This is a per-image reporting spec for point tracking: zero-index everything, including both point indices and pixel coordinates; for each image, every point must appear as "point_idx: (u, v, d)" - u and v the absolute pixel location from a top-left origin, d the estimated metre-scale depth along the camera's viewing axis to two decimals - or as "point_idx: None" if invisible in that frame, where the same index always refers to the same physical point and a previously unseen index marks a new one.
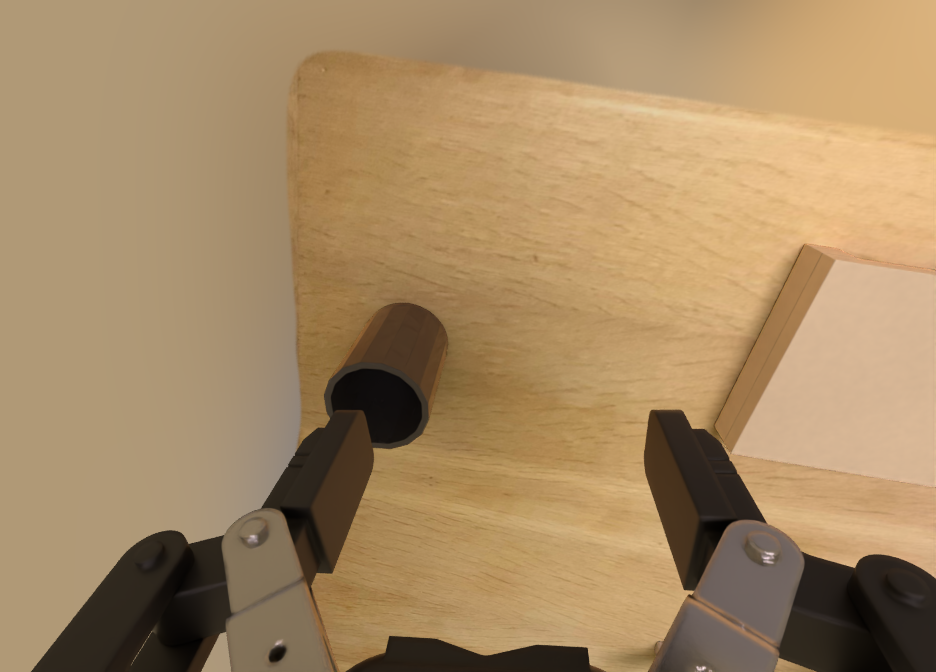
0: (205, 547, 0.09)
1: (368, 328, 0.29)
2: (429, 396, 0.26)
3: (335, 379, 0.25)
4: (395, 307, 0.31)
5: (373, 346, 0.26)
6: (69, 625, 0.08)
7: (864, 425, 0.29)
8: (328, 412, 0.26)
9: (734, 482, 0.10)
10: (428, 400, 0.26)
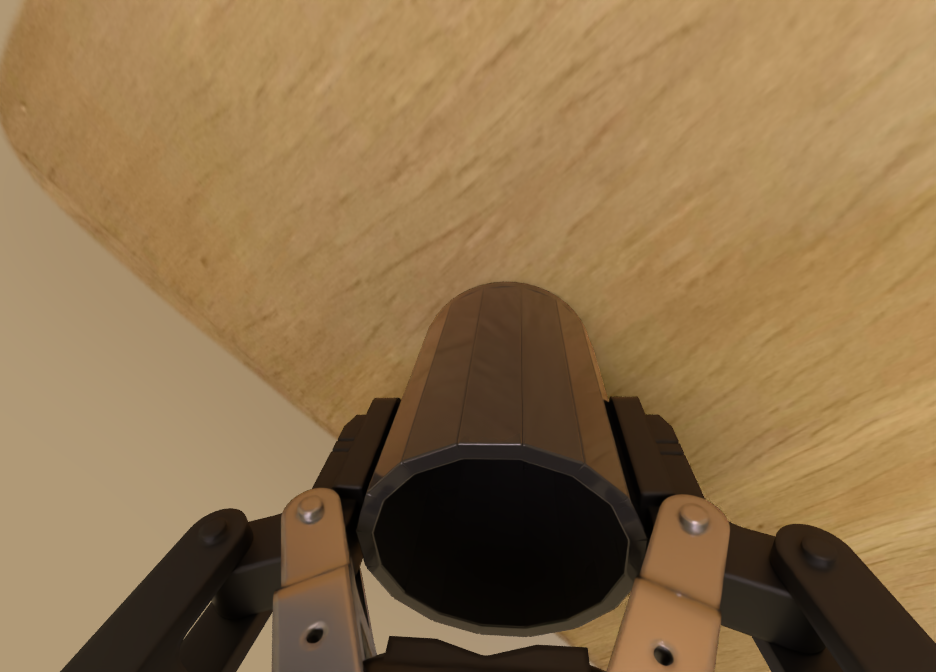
0: (263, 525, 0.10)
1: None
2: (579, 442, 0.09)
3: (371, 558, 0.10)
4: (431, 326, 0.15)
5: (393, 430, 0.11)
6: (138, 587, 0.08)
7: None
8: (433, 618, 0.11)
9: (680, 462, 0.10)
10: (582, 455, 0.08)
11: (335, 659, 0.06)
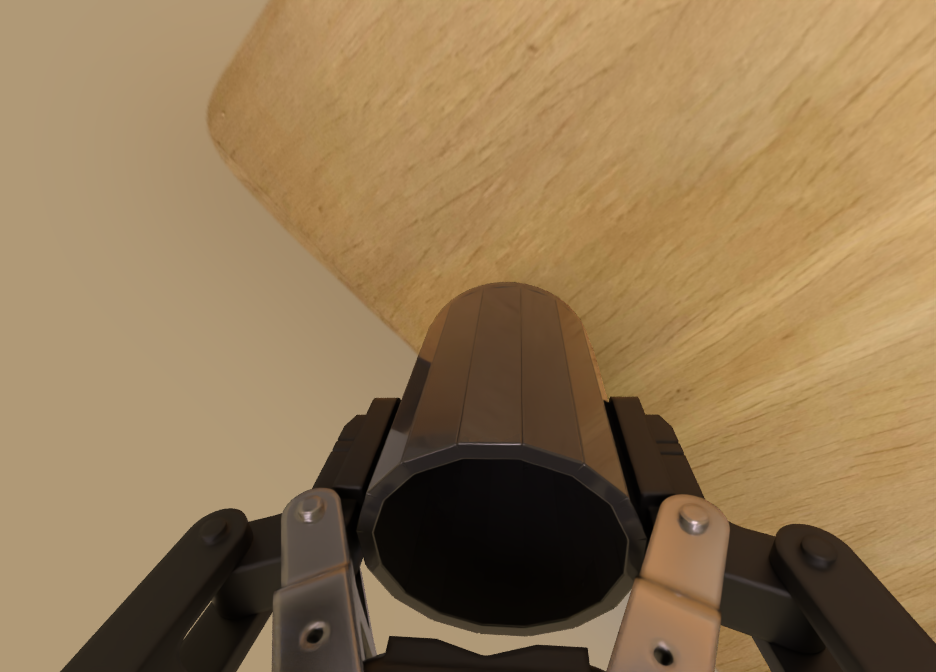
0: (262, 525, 0.10)
1: None
2: (579, 442, 0.09)
3: (371, 557, 0.10)
4: (431, 326, 0.15)
5: (393, 430, 0.11)
6: (138, 587, 0.08)
7: None
8: (433, 618, 0.11)
9: (679, 462, 0.10)
10: (582, 455, 0.08)
11: (335, 660, 0.06)
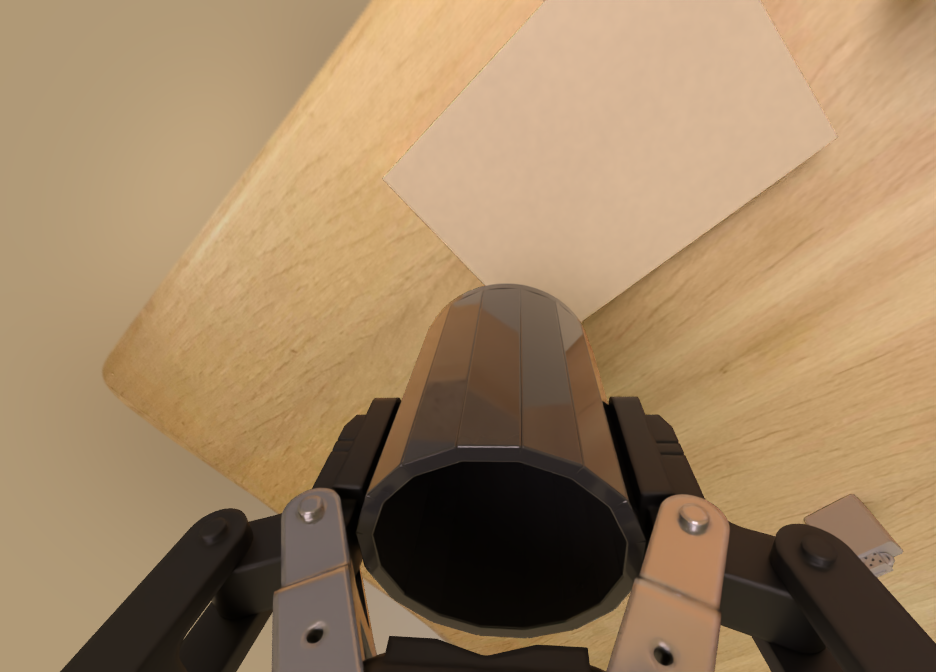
0: (262, 525, 0.10)
1: None
2: (578, 444, 0.09)
3: (371, 559, 0.10)
4: (431, 327, 0.15)
5: (392, 432, 0.11)
6: (138, 587, 0.08)
7: (597, 229, 0.25)
8: (432, 620, 0.11)
9: (680, 462, 0.10)
10: (581, 458, 0.08)
11: (335, 659, 0.06)
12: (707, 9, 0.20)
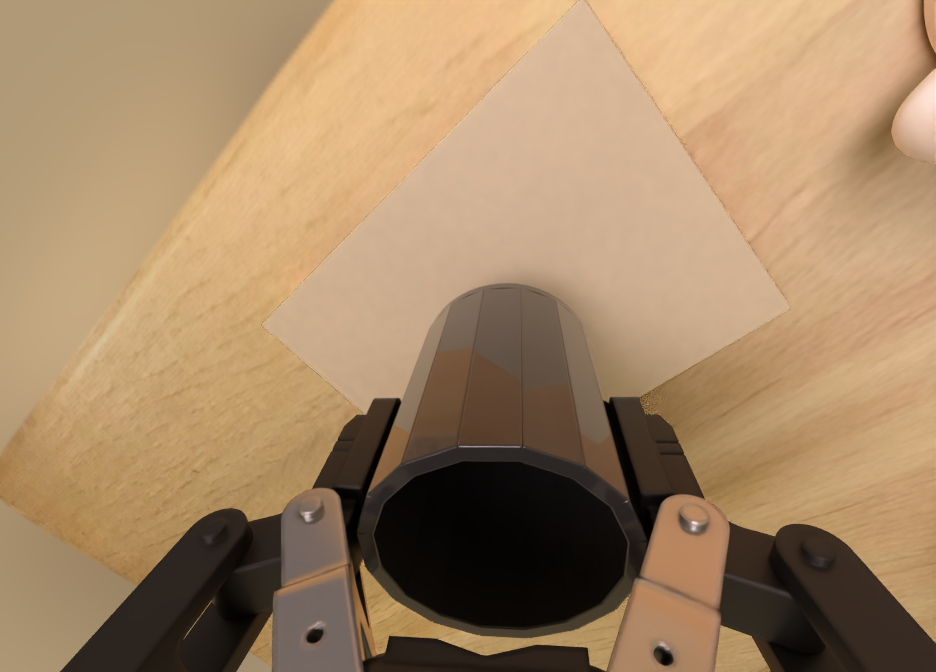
0: (262, 525, 0.10)
1: None
2: (579, 444, 0.09)
3: (371, 559, 0.10)
4: (432, 327, 0.15)
5: (393, 431, 0.11)
6: (138, 587, 0.08)
7: None
8: (433, 620, 0.11)
9: (679, 462, 0.10)
10: (582, 457, 0.08)
11: (335, 659, 0.06)
12: (629, 167, 0.16)
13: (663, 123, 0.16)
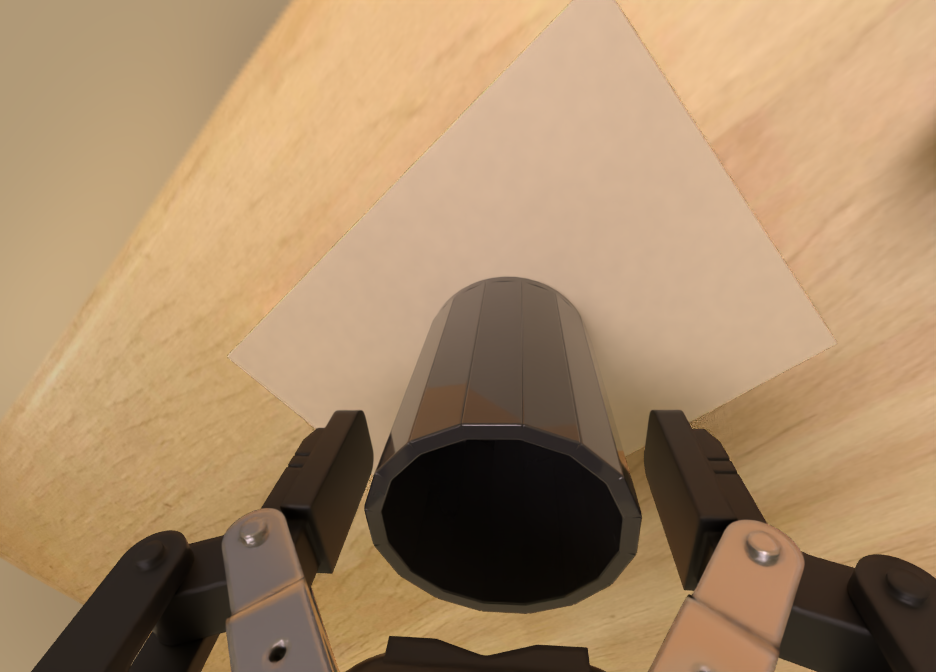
0: (205, 547, 0.09)
1: None
2: (576, 424, 0.09)
3: (379, 536, 0.11)
4: (435, 319, 0.16)
5: (399, 415, 0.11)
6: (69, 625, 0.08)
7: None
8: (437, 596, 0.11)
9: (734, 482, 0.10)
10: (579, 436, 0.09)
11: None
12: (650, 180, 0.14)
13: (693, 129, 0.13)
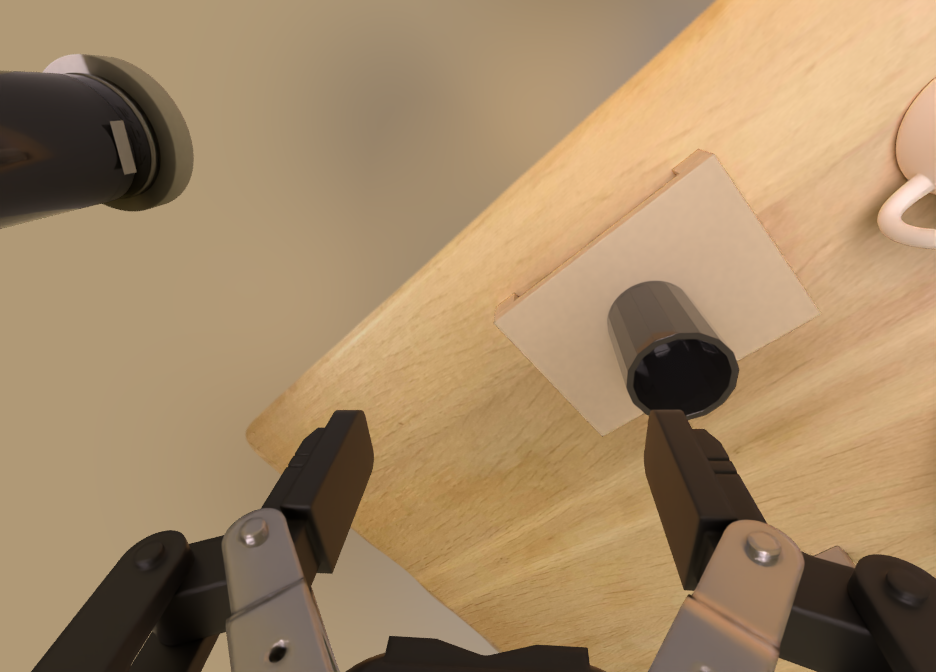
0: (206, 547, 0.09)
1: (615, 332, 0.30)
2: (716, 335, 0.25)
3: (630, 383, 0.27)
4: (618, 301, 0.32)
5: (634, 337, 0.27)
6: (69, 625, 0.08)
7: None
8: (647, 413, 0.28)
9: (734, 482, 0.10)
10: (718, 338, 0.25)
11: None
12: (731, 236, 0.30)
13: (752, 214, 0.29)
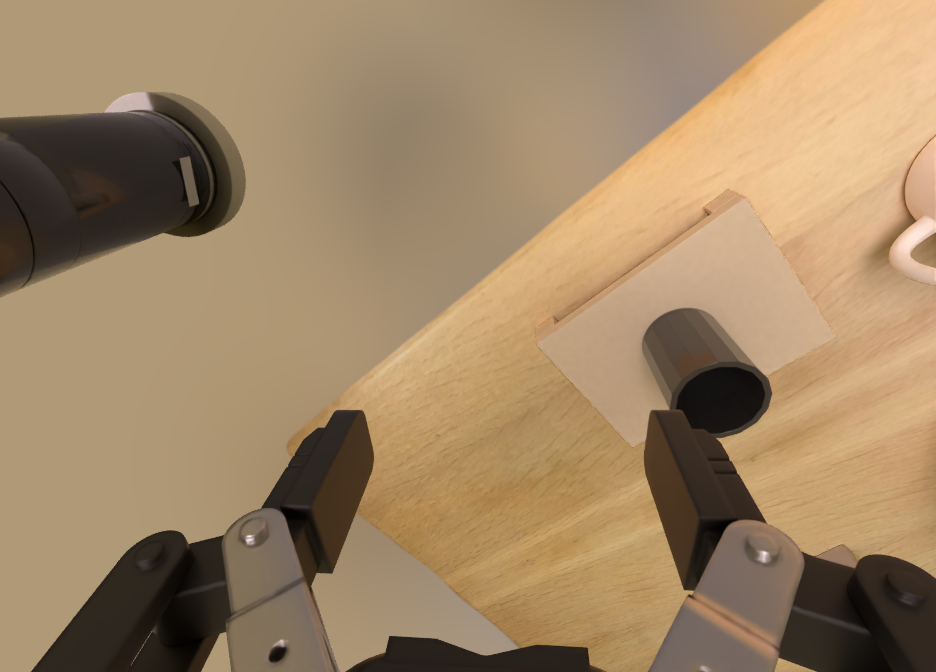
0: (206, 547, 0.09)
1: (654, 355, 0.33)
2: (752, 362, 0.28)
3: (673, 405, 0.30)
4: (654, 327, 0.35)
5: (676, 363, 0.30)
6: (69, 625, 0.08)
7: None
8: None
9: (734, 482, 0.10)
10: (754, 365, 0.28)
11: None
12: (758, 269, 0.33)
13: (778, 250, 0.32)
